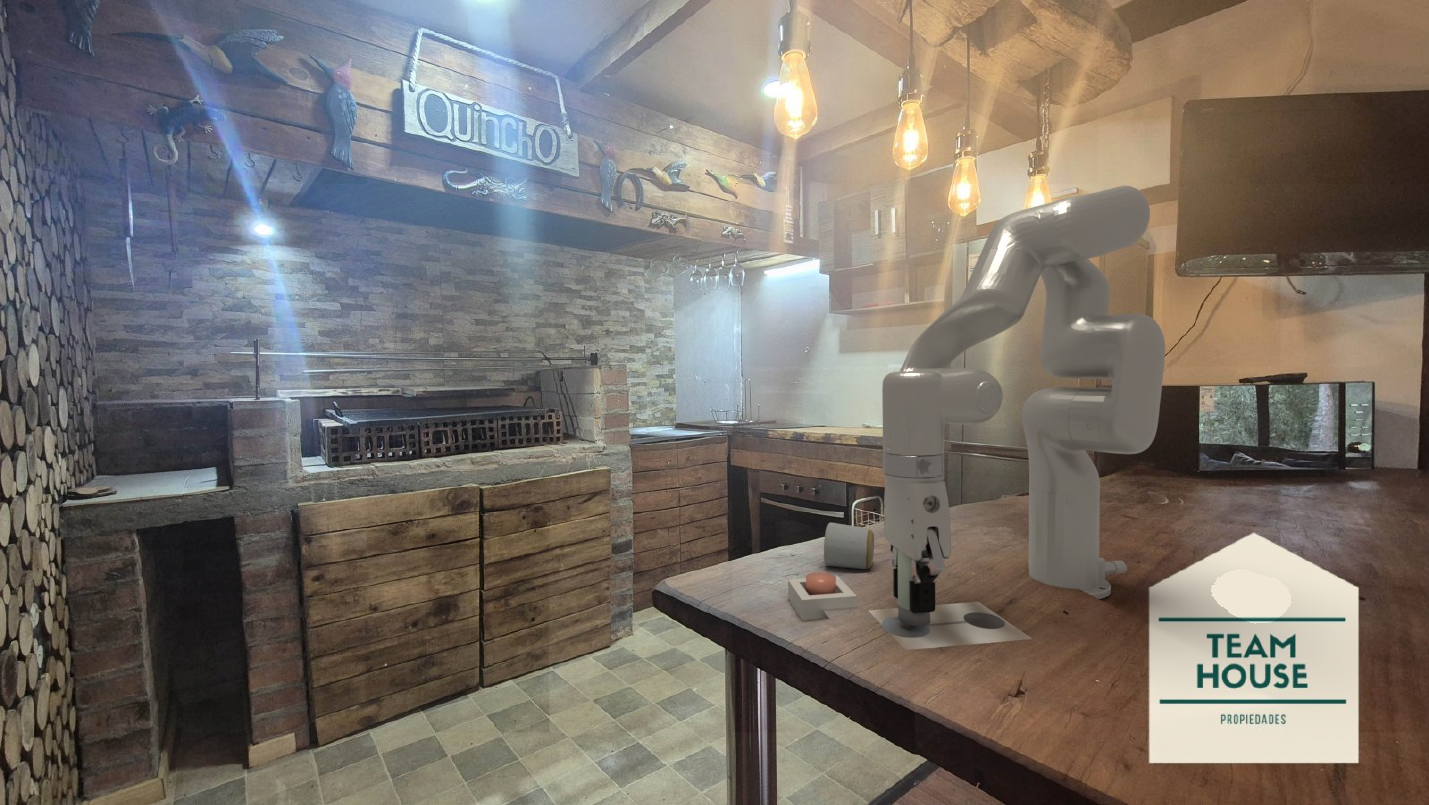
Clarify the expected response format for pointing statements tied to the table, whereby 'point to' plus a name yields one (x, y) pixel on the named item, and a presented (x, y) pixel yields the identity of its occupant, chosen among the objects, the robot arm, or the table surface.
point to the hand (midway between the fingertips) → (913, 602)
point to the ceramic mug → (848, 546)
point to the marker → (908, 592)
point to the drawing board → (950, 627)
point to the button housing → (819, 599)
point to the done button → (820, 583)
